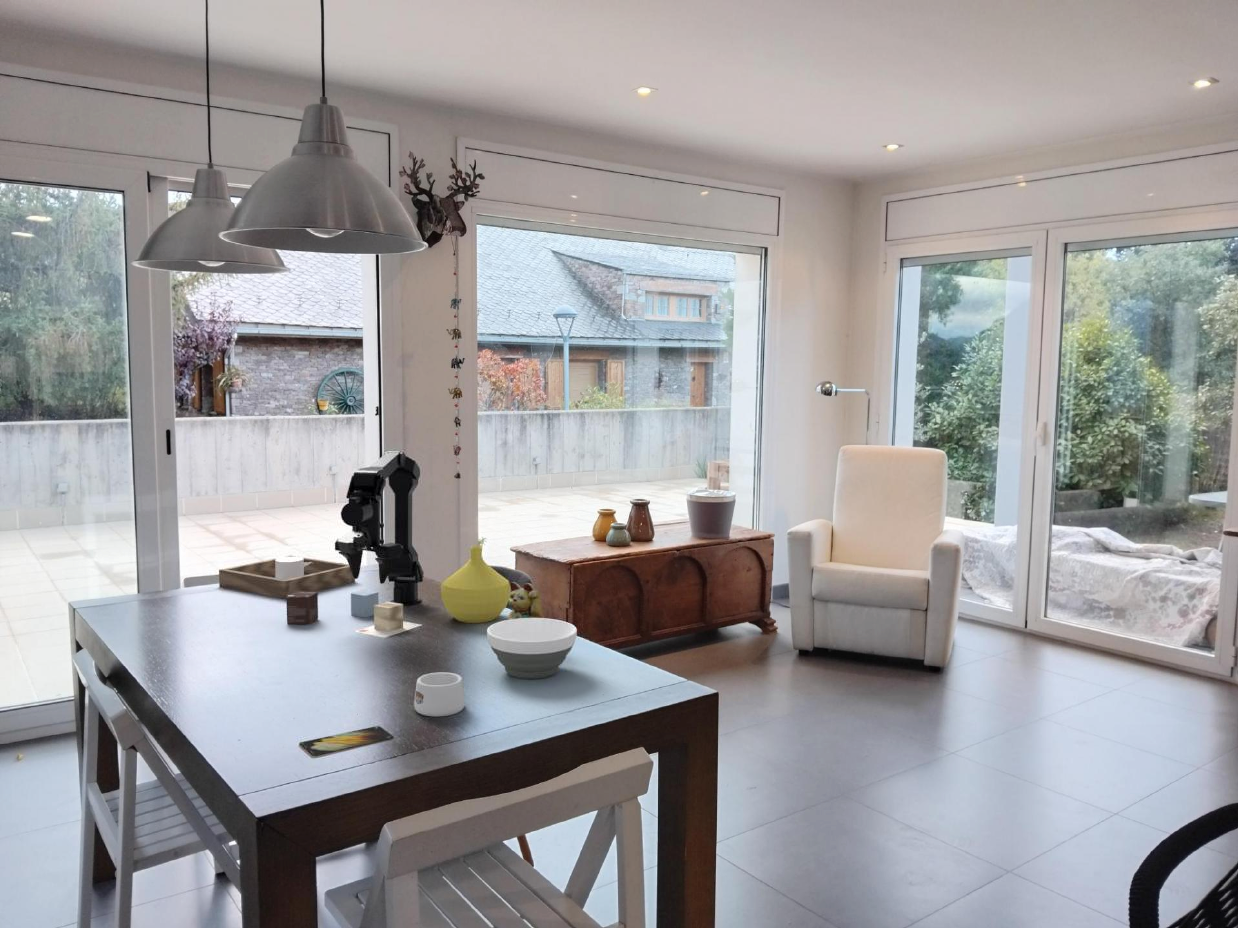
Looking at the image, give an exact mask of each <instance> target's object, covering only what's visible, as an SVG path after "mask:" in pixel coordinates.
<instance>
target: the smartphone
mask: <svg viewBox="0 0 1238 928" xmlns="http://www.w3.org/2000/svg"><path fill="white" fill-rule="evenodd" d="M394 739H395V737H394V735H393V734H391V733H390V732H388V731H387V730H386V729H384V728H383V727H381V726H379V725H377V726H371V727H366V728H362V729H357V730H352V731H347V732H342V733H337V734H334V735H329V736H324V737H319V738H314V739H309V740H305V741H300V742H299V744H298V747H299V748H300V749H302V751H304V752H305V753H306V754H307V755H308V756H309V757H310V758H319V757H323V756H328V755H332V754H335V753H339V752H344V751H349V750H354V749H356V748H357V749H358V748H362V747H366V746H369V745H373V744H378V743H382V742H387V741H391V740H394Z"/></svg>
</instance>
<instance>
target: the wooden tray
mask: <svg viewBox="0 0 1238 928" xmlns="http://www.w3.org/2000/svg"><path fill="white" fill-rule="evenodd" d="M285 557H298V556H296V555H287V556H285ZM301 557H302V556H301ZM277 558H278V557H277ZM277 558H272V559H267V560H260V561H256V562H252V563H246V564H241V565H237V566H231V567H226V568H222V569H218V579H219V583H218V584H219V585H218V586H219V587H220V588H225V589H232V590H236V591H243V592H248V593H253V594H259V595H263V596H269V597H273V598H279V599H283V600H284V599H285V600H286V597H287V596H288V595H290V594H292V593H294V592H296V591H301V592H318V591H322V590H325V589H326V590H327V589H331V588H334V587H339V586H342V585H347V584H351V583H354V582H356V579H354V577H353V574H352V572H351V569H350V566H349V564H348V563H342V562H335V561H328V560H321V559H316V558H309V557H302V558H304V563H306V562H307V563H308V562H312V563H310V564H309V565H307V566H305V567H304V576H300V577H296V578H291V579H287V580H284V579H278V578H275V577H274V576H275V559H277Z"/></svg>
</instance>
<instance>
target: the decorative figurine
mask: <svg viewBox="0 0 1238 928" xmlns="http://www.w3.org/2000/svg"><path fill="white" fill-rule="evenodd" d="M509 584H510V587H511V594H510V596H509V599H508V605H509V606H510V607H511V608H512V610H511V611H510V612H509V613H508V614H507V618H506V619H507V620H510V619H519V618H543V612H542V608H541V597H540V592H539V591H537V590H535V589H534V586H533V584H532V583H525V584H524V585H523V587H522V586H520V584H518V583H517V582H515V581H512V582H509Z"/></svg>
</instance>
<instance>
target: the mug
mask: <svg viewBox="0 0 1238 928" xmlns="http://www.w3.org/2000/svg"><path fill="white" fill-rule="evenodd" d="M415 686H416V687H415V694H414V702H413V705H414V710H415V711H416V712H417V713H418V714H420V715H421V716H427V717H438V718H440V717H446V716H452V715H455V714H458V713H460V712H461V711H462V710H463V709H464V708H465V706H466V705H465V704H466V698H465V690H464V682H463V678H462V676H460V674H457V673H454V672H453V673H452V672H441V671H440V672H430V673H426V674H423V675H421V676H419V677H418V678H417V680H416V684H415Z"/></svg>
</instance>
